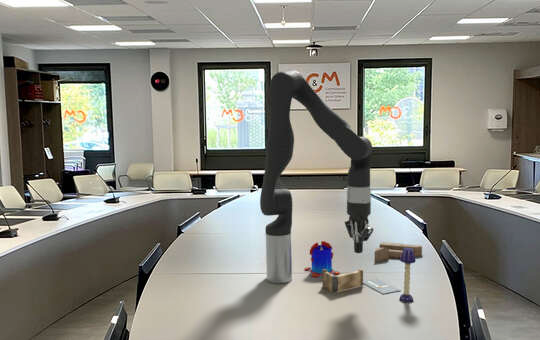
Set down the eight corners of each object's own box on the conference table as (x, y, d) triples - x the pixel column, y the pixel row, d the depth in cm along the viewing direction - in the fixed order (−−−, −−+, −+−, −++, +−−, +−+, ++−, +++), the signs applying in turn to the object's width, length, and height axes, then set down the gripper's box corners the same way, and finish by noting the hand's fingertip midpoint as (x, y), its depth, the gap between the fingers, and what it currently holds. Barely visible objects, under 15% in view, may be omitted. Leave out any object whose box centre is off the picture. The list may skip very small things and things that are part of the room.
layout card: (359, 281, 171) (359, 280, 171) (376, 278, 173) (376, 277, 173) (383, 294, 158) (383, 293, 158) (400, 290, 160) (400, 289, 160)
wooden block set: (379, 239, 209) (422, 242, 202) (379, 252, 210) (422, 255, 203) (371, 249, 194) (418, 252, 187) (371, 262, 194) (418, 266, 187)
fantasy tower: (312, 278, 176) (312, 246, 175) (302, 269, 187) (301, 239, 186) (342, 275, 179) (342, 243, 178) (330, 266, 190) (329, 236, 189)
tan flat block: (321, 286, 167) (321, 269, 166) (325, 285, 167) (325, 268, 167) (331, 292, 161) (331, 274, 160) (335, 291, 161) (335, 274, 161)
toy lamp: (412, 297, 154) (412, 246, 153) (417, 302, 150) (417, 250, 148) (397, 297, 154) (397, 247, 153) (402, 303, 150) (402, 250, 148)
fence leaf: (334, 292, 159) (334, 277, 158) (331, 291, 160) (331, 276, 160) (364, 285, 165) (364, 270, 165) (361, 284, 167) (360, 269, 166)
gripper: (337, 197, 158) (337, 249, 160) (361, 204, 146) (360, 260, 148) (356, 195, 161) (356, 246, 163) (381, 202, 149) (380, 256, 151)
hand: (358, 252), depth 155 cm, fingers closed
